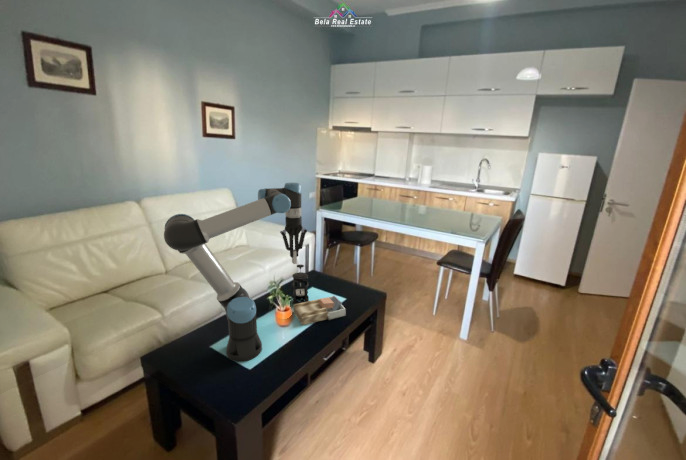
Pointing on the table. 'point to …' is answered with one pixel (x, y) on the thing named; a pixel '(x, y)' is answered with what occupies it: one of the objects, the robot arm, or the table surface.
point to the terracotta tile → (326, 303)
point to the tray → (336, 314)
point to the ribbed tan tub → (310, 312)
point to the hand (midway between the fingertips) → (294, 262)
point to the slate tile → (336, 303)
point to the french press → (299, 291)
